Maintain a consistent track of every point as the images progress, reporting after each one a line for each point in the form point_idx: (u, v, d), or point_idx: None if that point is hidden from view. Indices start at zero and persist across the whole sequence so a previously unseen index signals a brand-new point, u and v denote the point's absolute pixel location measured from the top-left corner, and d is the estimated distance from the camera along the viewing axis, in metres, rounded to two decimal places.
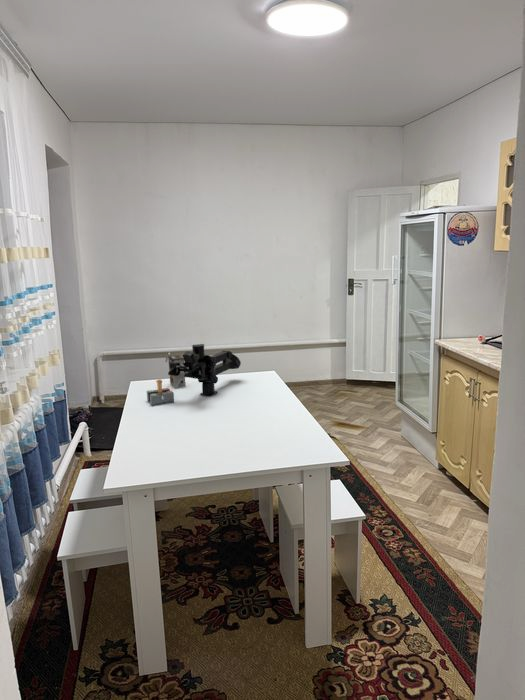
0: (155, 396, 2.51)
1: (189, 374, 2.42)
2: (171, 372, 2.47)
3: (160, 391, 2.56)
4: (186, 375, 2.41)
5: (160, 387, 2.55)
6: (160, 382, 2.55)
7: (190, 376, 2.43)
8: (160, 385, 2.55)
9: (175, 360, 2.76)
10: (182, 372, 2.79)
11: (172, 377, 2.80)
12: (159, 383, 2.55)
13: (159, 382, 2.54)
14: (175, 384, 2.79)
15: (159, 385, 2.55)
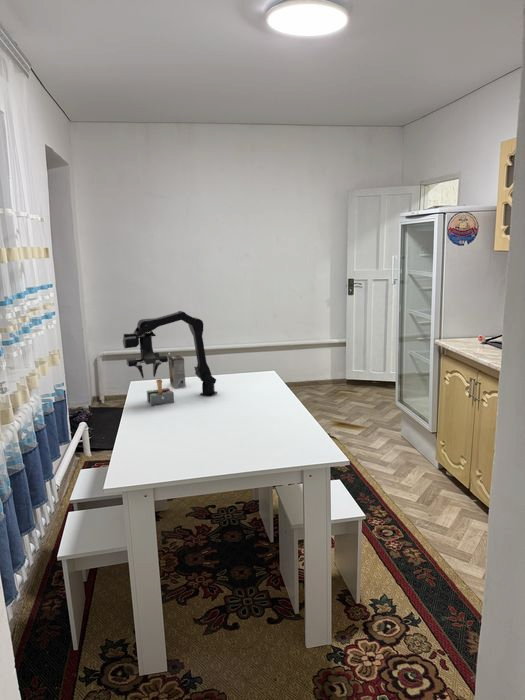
0: (155, 396, 2.51)
1: None
2: (142, 374, 2.51)
3: (160, 391, 2.56)
4: None
5: (160, 387, 2.55)
6: (160, 382, 2.55)
7: None
8: (160, 385, 2.55)
9: (175, 360, 2.76)
10: (182, 372, 2.79)
11: (172, 377, 2.80)
12: (159, 383, 2.55)
13: (159, 382, 2.54)
14: (175, 384, 2.79)
15: (159, 385, 2.55)
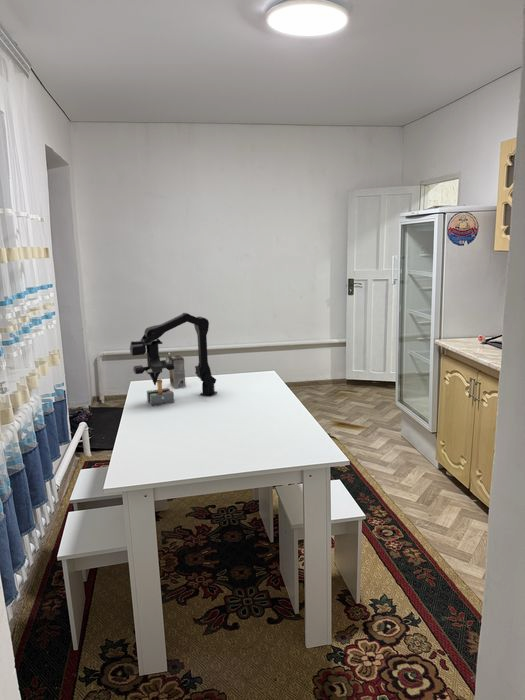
0: (155, 396, 2.51)
1: None
2: None
3: (160, 391, 2.56)
4: None
5: (160, 387, 2.55)
6: (160, 382, 2.55)
7: None
8: (160, 385, 2.55)
9: (175, 360, 2.76)
10: (182, 372, 2.79)
11: (172, 377, 2.80)
12: (159, 383, 2.55)
13: (159, 382, 2.55)
14: (175, 384, 2.79)
15: (159, 385, 2.55)
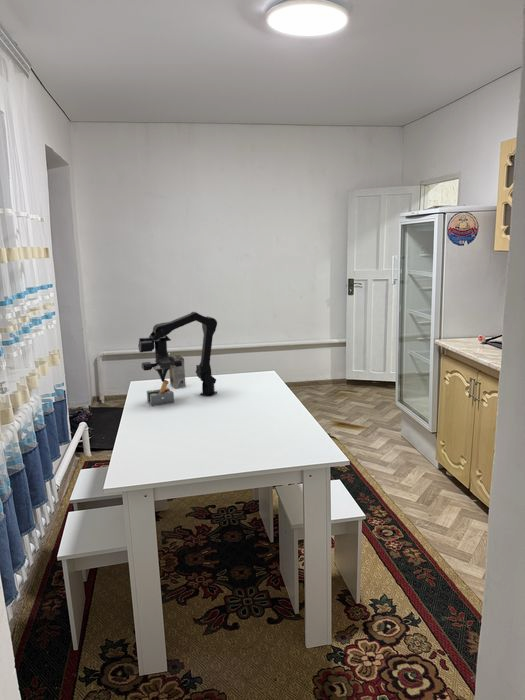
0: (155, 396, 2.51)
1: None
2: None
3: (162, 391, 2.56)
4: None
5: (164, 387, 2.56)
6: (166, 383, 2.56)
7: None
8: (165, 386, 2.56)
9: None
10: (182, 372, 2.79)
11: (172, 377, 2.80)
12: (165, 383, 2.56)
13: (165, 382, 2.56)
14: (175, 384, 2.79)
15: (164, 385, 2.56)
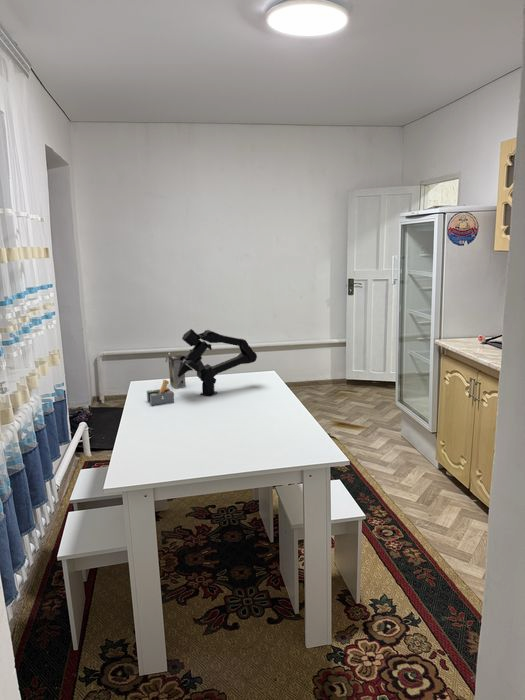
0: (155, 396, 2.51)
1: None
2: None
3: (162, 391, 2.56)
4: None
5: (164, 387, 2.56)
6: (166, 383, 2.56)
7: None
8: (165, 386, 2.56)
9: (175, 360, 2.76)
10: None
11: (172, 377, 2.80)
12: (165, 383, 2.56)
13: (165, 382, 2.56)
14: (175, 384, 2.79)
15: (164, 385, 2.56)
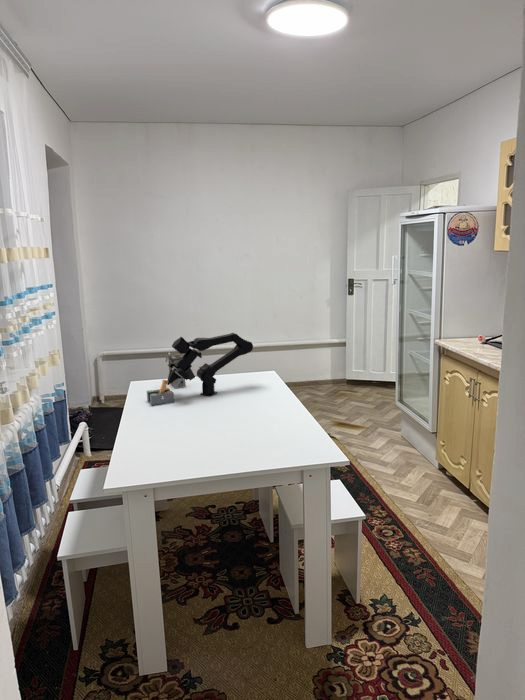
0: (155, 396, 2.51)
1: None
2: None
3: (162, 391, 2.56)
4: None
5: (164, 387, 2.56)
6: (166, 383, 2.56)
7: None
8: (165, 385, 2.56)
9: (175, 360, 2.76)
10: None
11: None
12: (165, 383, 2.56)
13: (165, 382, 2.56)
14: (175, 384, 2.79)
15: (164, 385, 2.56)
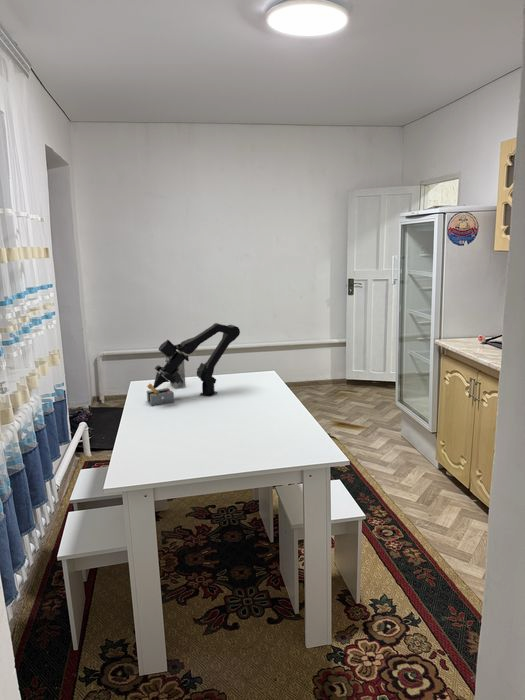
0: (155, 396, 2.51)
1: None
2: None
3: None
4: None
5: (154, 390, 2.54)
6: (151, 386, 2.53)
7: None
8: (153, 388, 2.54)
9: None
10: (182, 372, 2.79)
11: None
12: (151, 388, 2.53)
13: (150, 387, 2.53)
14: (175, 384, 2.79)
15: (152, 389, 2.54)
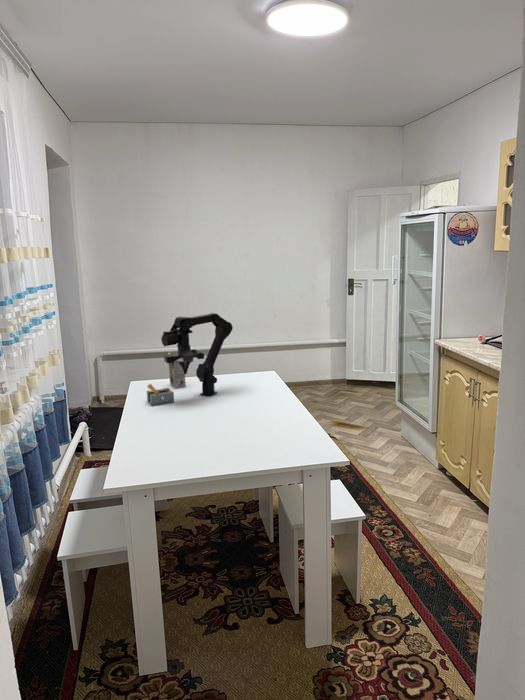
0: (155, 396, 2.51)
1: None
2: None
3: None
4: None
5: (154, 390, 2.54)
6: (151, 386, 2.53)
7: None
8: (153, 388, 2.54)
9: (175, 360, 2.76)
10: (182, 372, 2.79)
11: (172, 377, 2.80)
12: (151, 388, 2.53)
13: (150, 387, 2.53)
14: (175, 384, 2.79)
15: (152, 389, 2.54)
